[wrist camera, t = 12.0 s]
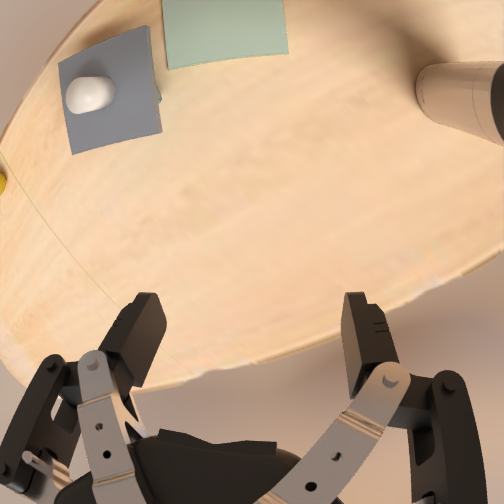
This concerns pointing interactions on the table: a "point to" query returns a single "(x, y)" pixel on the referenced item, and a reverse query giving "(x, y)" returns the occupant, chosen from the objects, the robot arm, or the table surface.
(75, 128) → the lid
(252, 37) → the mat
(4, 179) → the lemon
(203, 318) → the table surface
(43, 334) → the table surface
